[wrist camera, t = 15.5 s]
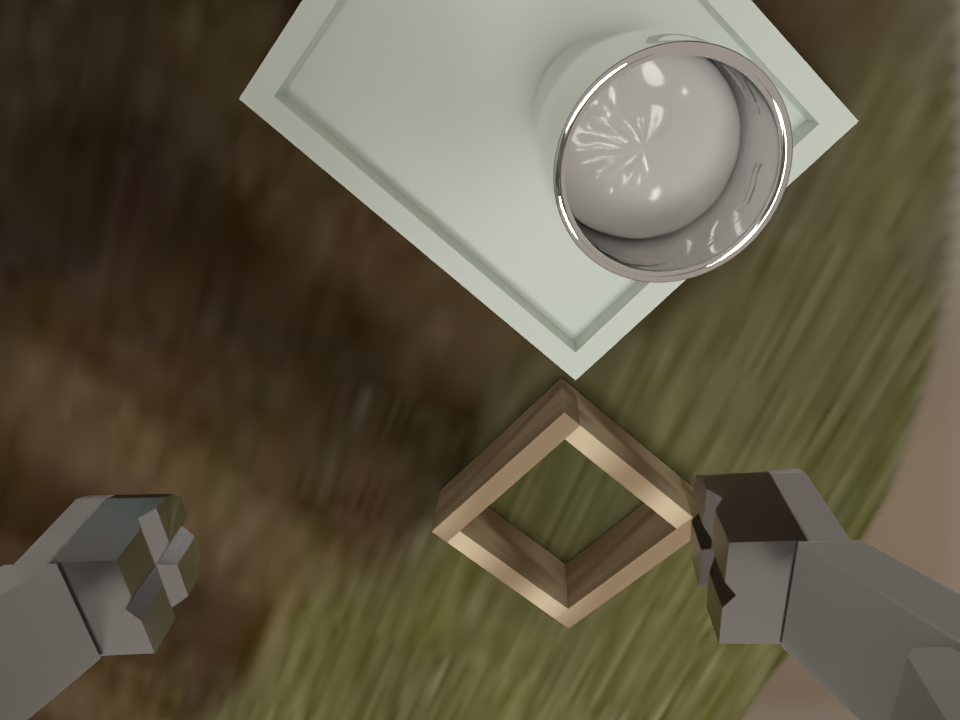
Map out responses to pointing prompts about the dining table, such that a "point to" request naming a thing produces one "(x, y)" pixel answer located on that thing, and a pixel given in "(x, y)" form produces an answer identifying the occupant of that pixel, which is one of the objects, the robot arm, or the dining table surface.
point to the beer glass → (661, 151)
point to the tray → (494, 137)
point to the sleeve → (607, 558)
